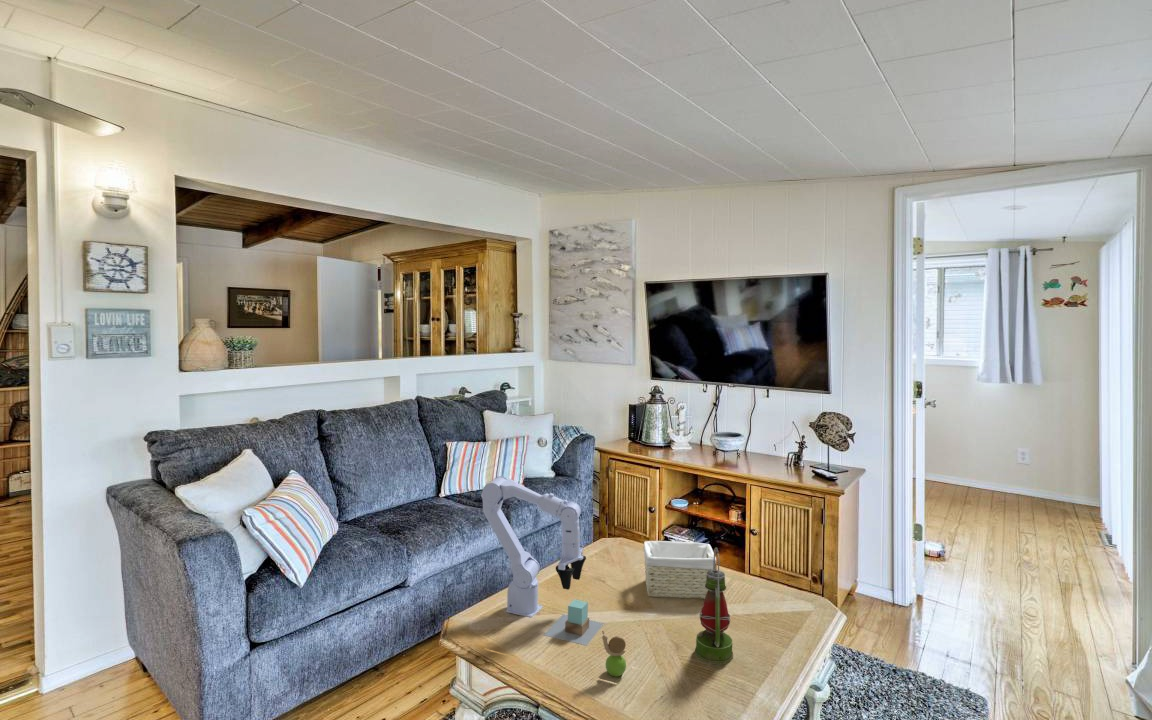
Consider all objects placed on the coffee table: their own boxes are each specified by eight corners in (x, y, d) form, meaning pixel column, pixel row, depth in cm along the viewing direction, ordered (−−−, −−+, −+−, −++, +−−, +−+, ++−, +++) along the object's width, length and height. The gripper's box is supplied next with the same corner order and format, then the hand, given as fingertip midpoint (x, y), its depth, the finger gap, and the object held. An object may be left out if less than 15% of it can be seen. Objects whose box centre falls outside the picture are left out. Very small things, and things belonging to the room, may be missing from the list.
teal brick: (567, 621, 178) (568, 605, 178) (574, 615, 182) (574, 599, 182) (581, 625, 177) (581, 608, 176) (587, 618, 181) (587, 602, 180)
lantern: (692, 639, 175) (694, 539, 174) (729, 641, 174) (731, 541, 173) (697, 666, 162) (699, 558, 160) (737, 668, 161) (740, 560, 159)
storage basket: (708, 581, 216) (709, 541, 215) (716, 602, 199) (717, 559, 198) (642, 579, 217) (642, 539, 216) (645, 600, 200) (645, 557, 200)
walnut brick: (565, 632, 178) (565, 622, 178) (572, 623, 183) (572, 614, 183) (582, 636, 176) (582, 626, 176) (589, 627, 181) (589, 617, 181)
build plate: (543, 636, 177) (543, 635, 177) (562, 615, 189) (563, 614, 189) (586, 646, 171) (586, 645, 171) (604, 624, 184) (604, 623, 184)
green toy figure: (600, 669, 160) (600, 626, 159) (624, 668, 160) (624, 625, 160) (603, 681, 155) (603, 636, 154) (627, 680, 155) (628, 635, 154)
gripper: (572, 551, 179) (573, 595, 180) (591, 535, 193) (591, 576, 193) (551, 548, 182) (552, 591, 183) (571, 532, 195) (572, 573, 196)
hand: (571, 583), depth 188 cm, fingers open, 7 cm apart
